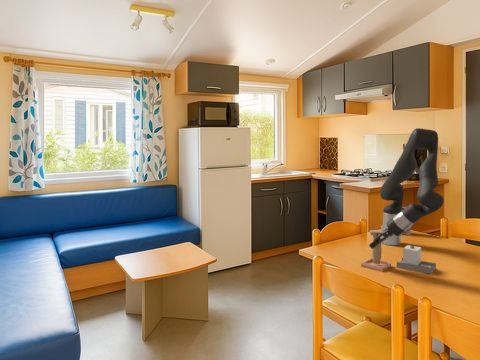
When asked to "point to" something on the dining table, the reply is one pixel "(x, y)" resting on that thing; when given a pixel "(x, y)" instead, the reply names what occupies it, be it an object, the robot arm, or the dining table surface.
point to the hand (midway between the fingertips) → (372, 245)
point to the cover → (412, 255)
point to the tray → (376, 265)
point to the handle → (376, 250)
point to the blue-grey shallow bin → (418, 266)
